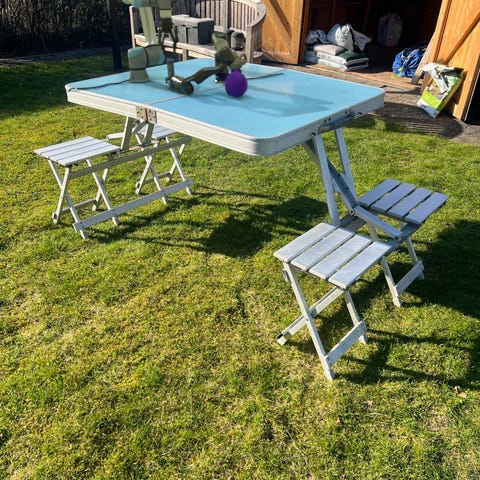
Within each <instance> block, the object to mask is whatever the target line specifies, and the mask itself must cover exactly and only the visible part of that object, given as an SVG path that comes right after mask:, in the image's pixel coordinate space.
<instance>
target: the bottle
mask: <svg viewBox="0 0 480 480" xmlns="http://www.w3.org/2000/svg"><path fill="white" fill-rule="evenodd" d="M166 69H167V77H173V76H176V72H175V62H174V63H166ZM168 88H169V89H177V88H176V87H175V86H173V85H172V83H170V82H168Z"/></svg>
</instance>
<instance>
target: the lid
mask: <svg viewBox="0 0 480 480" xmlns="http://www.w3.org/2000/svg"><path fill="white" fill-rule="evenodd" d="M165 61H166V64H167V63H174V64H175V59H174V58H167V59H166V60H165Z"/></svg>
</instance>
